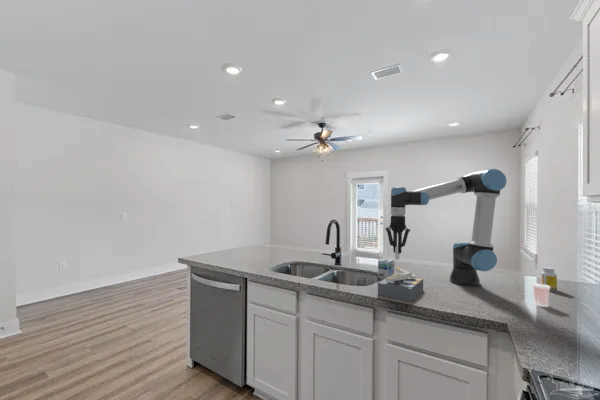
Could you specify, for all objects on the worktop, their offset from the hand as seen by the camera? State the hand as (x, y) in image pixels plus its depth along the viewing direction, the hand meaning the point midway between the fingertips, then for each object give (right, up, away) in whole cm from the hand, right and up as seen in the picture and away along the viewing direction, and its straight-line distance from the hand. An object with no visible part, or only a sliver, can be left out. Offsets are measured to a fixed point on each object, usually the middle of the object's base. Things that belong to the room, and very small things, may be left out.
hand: (397, 259), depth 152 cm
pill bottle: (+82, -17, -1) cm, 83 cm away
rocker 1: (-5, -7, -14) cm, 16 cm away
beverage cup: (+57, -16, -25) cm, 64 cm away
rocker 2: (-1, -7, -8) cm, 11 cm away
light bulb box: (+1, -16, +22) cm, 27 cm away
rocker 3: (+4, -7, -3) cm, 8 cm away
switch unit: (-1, -16, -8) cm, 18 cm away
